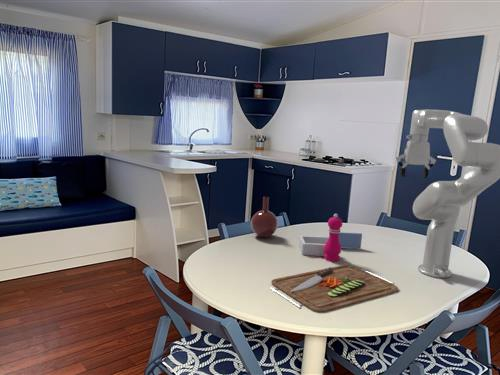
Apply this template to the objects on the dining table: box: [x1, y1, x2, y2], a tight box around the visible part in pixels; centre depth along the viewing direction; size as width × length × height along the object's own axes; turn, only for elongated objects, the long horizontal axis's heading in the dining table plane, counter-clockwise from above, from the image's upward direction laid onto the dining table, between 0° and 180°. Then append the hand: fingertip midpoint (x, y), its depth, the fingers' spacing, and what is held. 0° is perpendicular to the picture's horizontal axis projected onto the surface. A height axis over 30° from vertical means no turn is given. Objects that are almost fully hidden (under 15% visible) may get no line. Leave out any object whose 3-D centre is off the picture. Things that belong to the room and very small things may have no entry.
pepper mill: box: [323, 213, 343, 263], centre depth 177 cm, size 7×7×20 cm
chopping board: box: [270, 264, 399, 313], centre depth 150 cm, size 45×27×3 cm, turn 122°
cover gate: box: [339, 231, 363, 249], centre depth 194 cm, size 13×1×8 cm, turn 91°
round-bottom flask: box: [250, 195, 279, 238], centre depth 204 cm, size 13×13×20 cm
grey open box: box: [298, 235, 329, 257], centre depth 188 cm, size 12×15×5 cm
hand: (413, 177), depth 186 cm, fingers open, 9 cm apart
